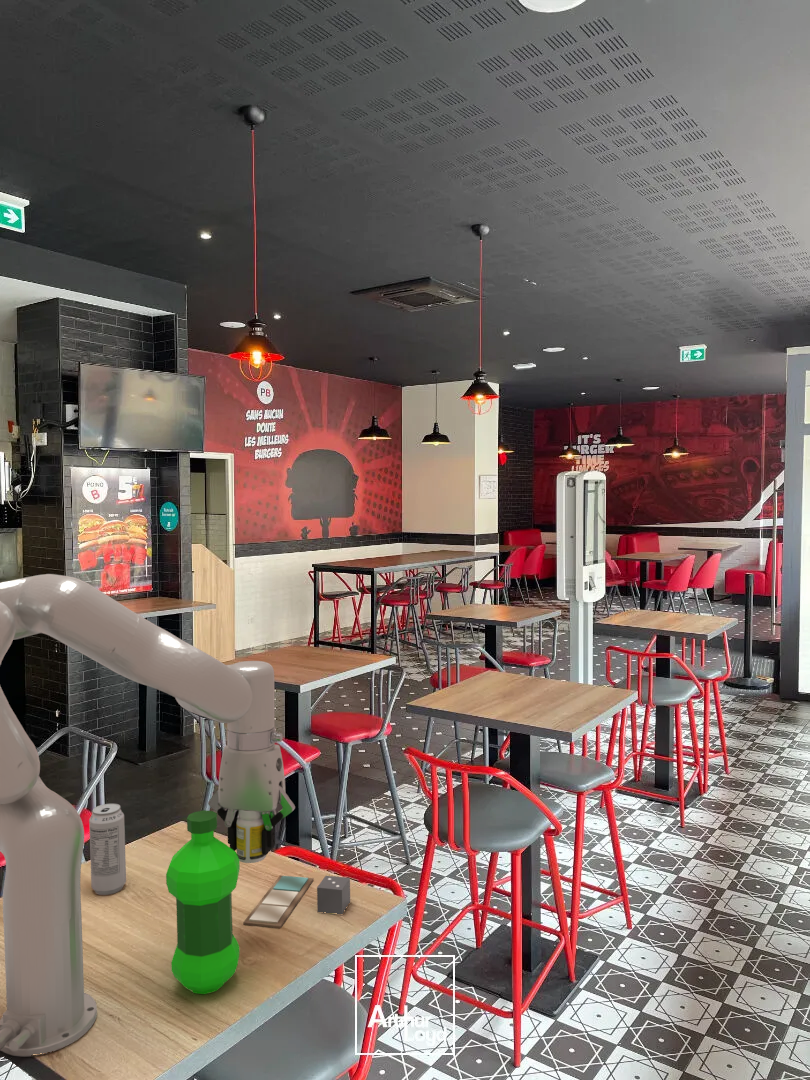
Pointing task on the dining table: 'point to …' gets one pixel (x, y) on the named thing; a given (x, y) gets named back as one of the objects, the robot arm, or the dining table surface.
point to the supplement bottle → (249, 836)
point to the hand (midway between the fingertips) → (251, 848)
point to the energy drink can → (107, 849)
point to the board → (278, 902)
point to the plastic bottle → (204, 907)
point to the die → (333, 894)
